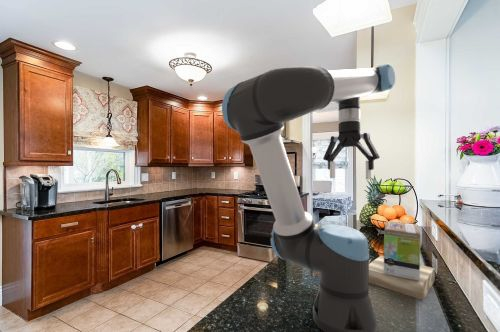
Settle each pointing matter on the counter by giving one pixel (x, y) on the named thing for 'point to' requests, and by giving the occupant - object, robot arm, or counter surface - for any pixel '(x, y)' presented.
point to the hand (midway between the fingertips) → (349, 178)
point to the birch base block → (401, 280)
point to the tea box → (402, 250)
